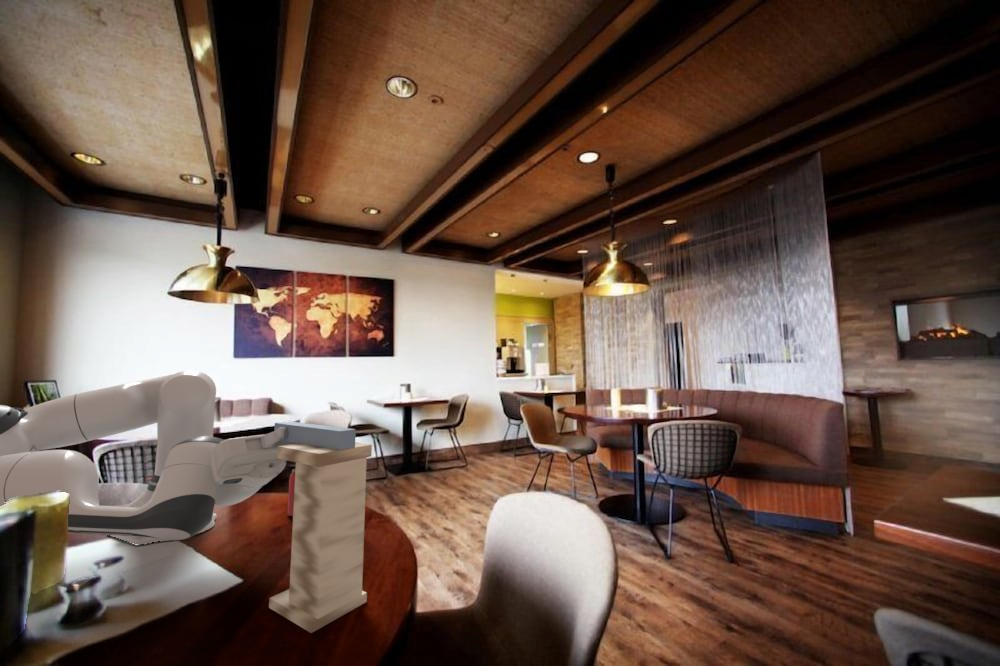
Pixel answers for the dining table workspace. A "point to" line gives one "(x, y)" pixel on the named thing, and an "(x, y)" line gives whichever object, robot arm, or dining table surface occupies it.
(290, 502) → the beer can
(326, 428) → the block
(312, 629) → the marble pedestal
